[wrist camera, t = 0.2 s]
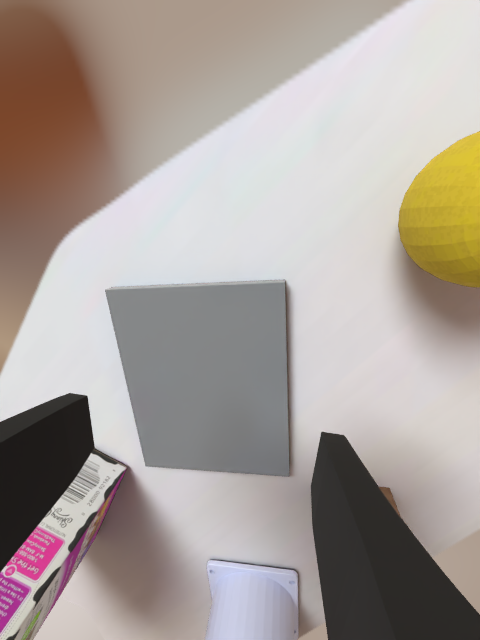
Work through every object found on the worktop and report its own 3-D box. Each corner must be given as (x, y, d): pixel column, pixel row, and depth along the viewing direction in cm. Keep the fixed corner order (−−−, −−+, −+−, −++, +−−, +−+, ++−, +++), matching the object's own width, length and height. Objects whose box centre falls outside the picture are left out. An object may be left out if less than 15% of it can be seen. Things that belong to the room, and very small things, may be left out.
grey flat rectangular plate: (289, 467, 21) (289, 476, 20) (150, 458, 23) (145, 466, 22) (284, 279, 16) (284, 282, 16) (112, 287, 18) (105, 289, 18)
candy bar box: (75, 436, 23) (-328, 850, 8) (129, 463, 23) (-166, 924, 8) (49, 515, 27) (-251, 890, 12) (96, 538, 27) (-144, 940, 12)
